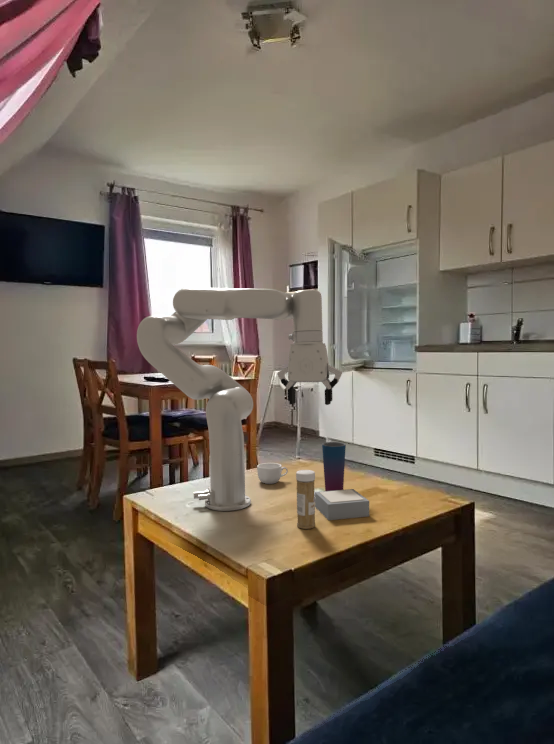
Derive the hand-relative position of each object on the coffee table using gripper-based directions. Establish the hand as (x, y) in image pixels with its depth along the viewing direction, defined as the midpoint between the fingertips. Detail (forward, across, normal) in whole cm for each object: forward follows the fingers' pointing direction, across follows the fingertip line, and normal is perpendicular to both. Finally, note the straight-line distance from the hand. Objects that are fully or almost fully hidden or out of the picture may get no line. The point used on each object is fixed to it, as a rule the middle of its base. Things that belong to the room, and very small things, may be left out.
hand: (310, 404), depth 134 cm
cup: (+29, +2, +15) cm, 32 cm away
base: (+28, +7, +2) cm, 29 cm away
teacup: (+28, -20, +23) cm, 42 cm away
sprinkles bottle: (+29, +2, -11) cm, 31 cm away
